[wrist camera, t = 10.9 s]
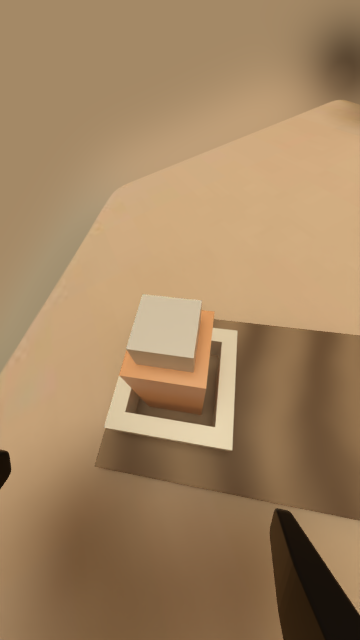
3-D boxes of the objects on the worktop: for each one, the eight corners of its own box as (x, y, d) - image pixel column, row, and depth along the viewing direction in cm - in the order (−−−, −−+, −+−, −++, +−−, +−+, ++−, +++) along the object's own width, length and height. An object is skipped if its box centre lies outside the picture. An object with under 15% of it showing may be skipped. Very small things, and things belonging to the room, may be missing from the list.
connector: (206, 364, 21) (217, 290, 11) (201, 415, 19) (208, 377, 9) (159, 357, 22) (132, 282, 12) (149, 406, 19) (105, 361, 10)
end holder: (232, 345, 22) (237, 330, 19) (226, 450, 18) (232, 450, 15) (142, 334, 23) (135, 318, 20) (116, 430, 19) (103, 427, 16)
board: (358, 341, 23) (366, 336, 22) (403, 527, 16) (418, 532, 15) (141, 316, 25) (139, 310, 24) (100, 465, 18) (94, 466, 17)
